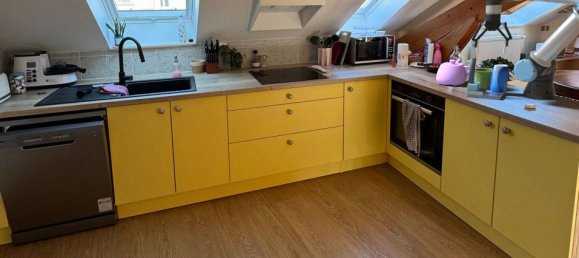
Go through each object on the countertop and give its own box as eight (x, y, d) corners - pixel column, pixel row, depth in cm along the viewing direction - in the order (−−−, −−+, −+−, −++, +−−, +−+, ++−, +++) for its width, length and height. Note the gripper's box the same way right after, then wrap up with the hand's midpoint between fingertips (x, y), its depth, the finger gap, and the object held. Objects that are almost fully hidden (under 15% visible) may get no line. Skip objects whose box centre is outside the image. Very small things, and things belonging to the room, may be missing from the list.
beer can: (499, 95, 237) (503, 67, 232) (486, 93, 244) (489, 65, 239) (509, 93, 241) (512, 65, 236) (496, 91, 248) (499, 63, 243)
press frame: (503, 95, 237) (504, 89, 236) (500, 99, 229) (500, 93, 228) (471, 92, 247) (471, 86, 245) (466, 96, 238) (467, 90, 237)
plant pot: (470, 86, 263) (471, 68, 259) (490, 86, 261) (492, 67, 258) (475, 90, 252) (476, 71, 248) (496, 90, 250) (498, 71, 246)
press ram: (479, 91, 242) (482, 57, 237) (476, 94, 236) (479, 59, 230) (468, 90, 245) (471, 57, 240) (465, 93, 239) (468, 59, 233)
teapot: (467, 88, 258) (469, 63, 253) (432, 85, 270) (434, 61, 266) (477, 81, 275) (479, 58, 270) (444, 78, 287) (446, 56, 283)
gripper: (518, 11, 229) (514, 51, 235) (468, 14, 238) (466, 52, 244) (520, 12, 223) (516, 53, 228) (468, 14, 231) (466, 54, 237)
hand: (490, 53), depth 236 cm, fingers open, 13 cm apart
